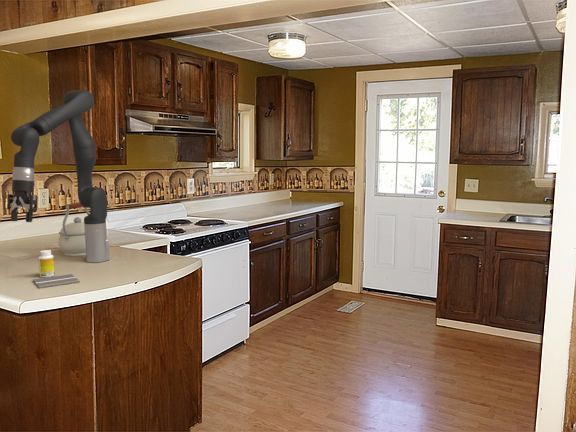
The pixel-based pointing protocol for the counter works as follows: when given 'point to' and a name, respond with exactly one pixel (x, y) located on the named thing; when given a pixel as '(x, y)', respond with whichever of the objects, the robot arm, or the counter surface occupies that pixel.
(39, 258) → the supplement bottle
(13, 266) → the counter surface
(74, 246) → the kettle
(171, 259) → the counter surface
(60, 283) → the lane mat
